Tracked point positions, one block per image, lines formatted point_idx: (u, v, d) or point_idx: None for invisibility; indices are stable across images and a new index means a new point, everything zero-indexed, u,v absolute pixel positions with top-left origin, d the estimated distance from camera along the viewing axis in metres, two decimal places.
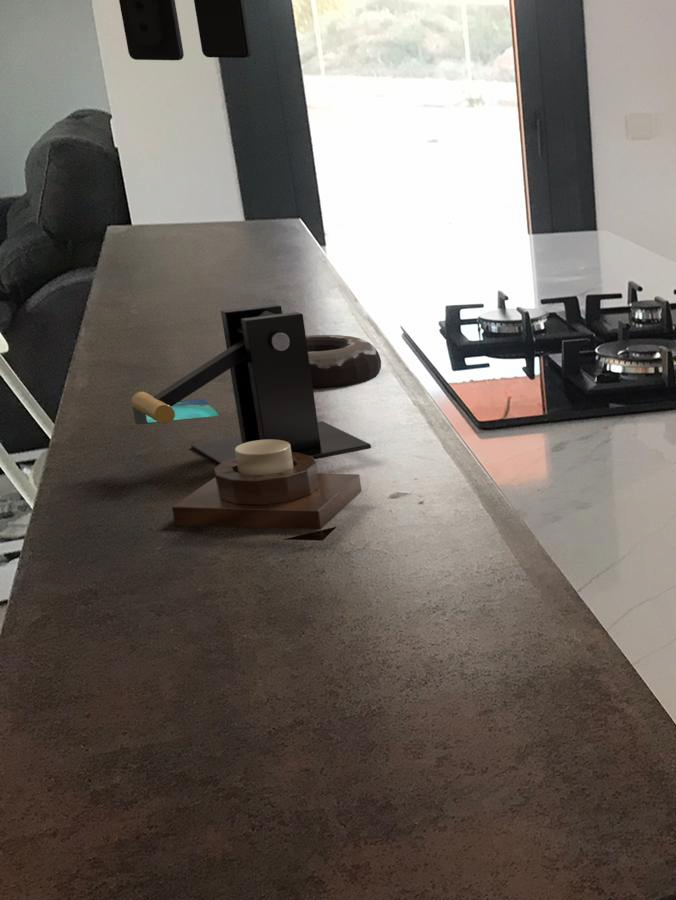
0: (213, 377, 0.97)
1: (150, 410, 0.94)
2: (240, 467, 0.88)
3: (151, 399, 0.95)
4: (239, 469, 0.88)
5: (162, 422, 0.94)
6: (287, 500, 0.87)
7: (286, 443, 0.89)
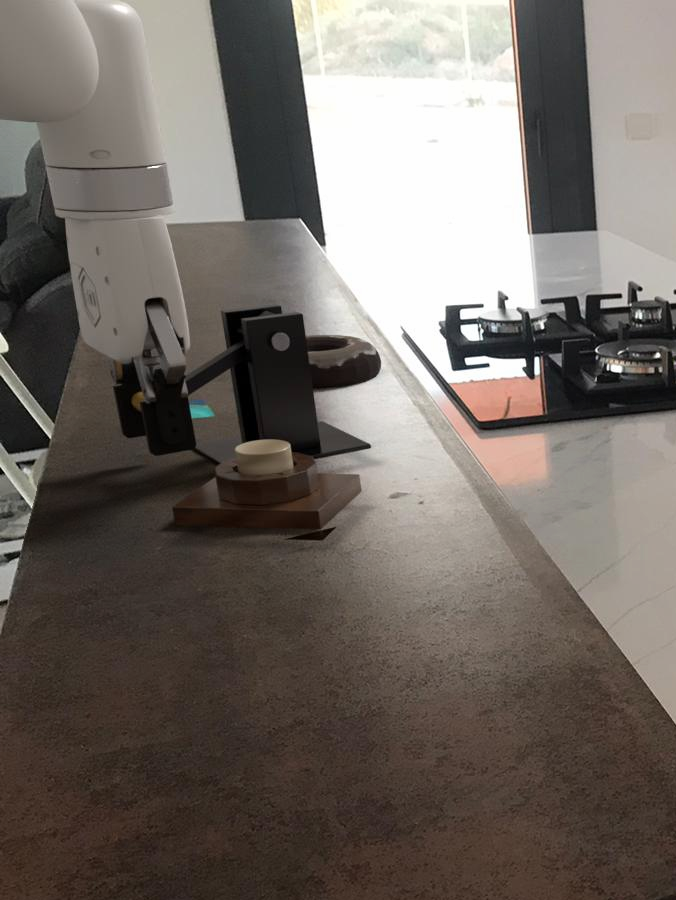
0: (213, 377, 0.97)
1: None
2: (240, 467, 0.88)
3: None
4: (239, 469, 0.88)
5: None
6: (287, 500, 0.87)
7: (286, 443, 0.89)
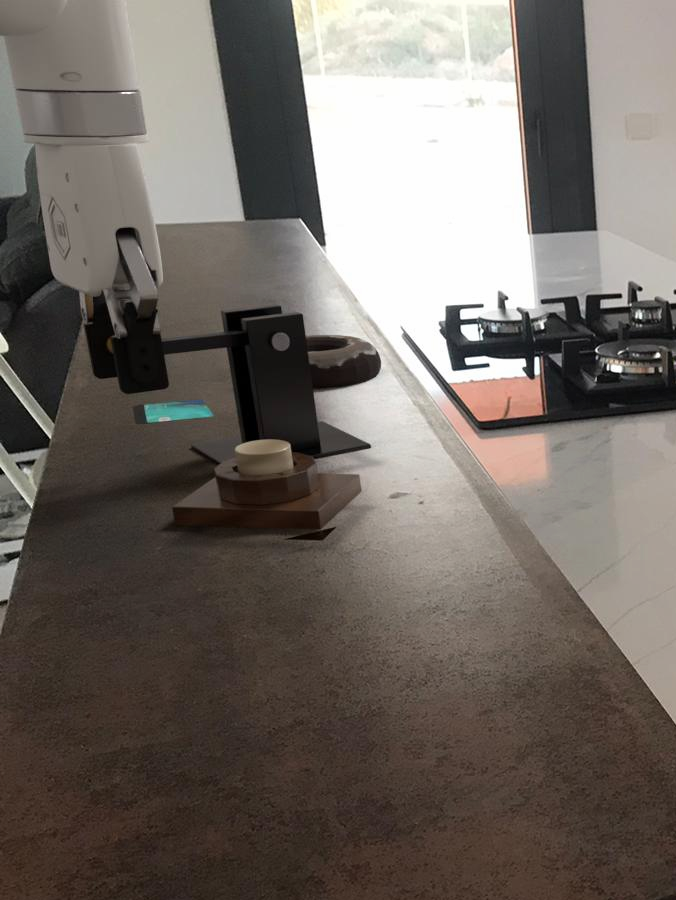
0: (199, 349, 0.96)
1: None
2: (240, 467, 0.88)
3: None
4: (239, 469, 0.88)
5: None
6: (287, 500, 0.87)
7: (286, 443, 0.89)
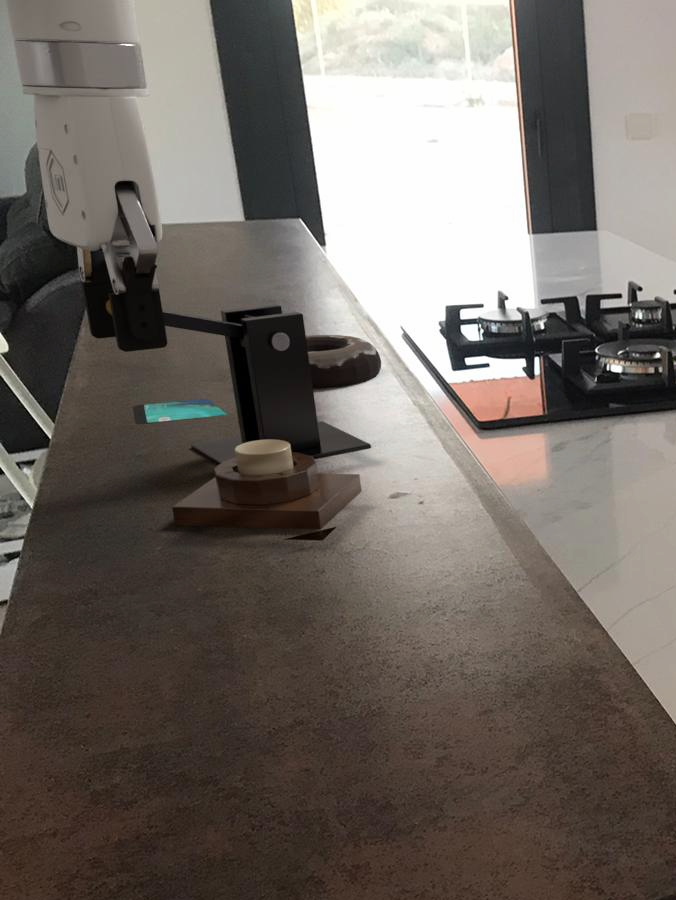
0: (198, 329, 0.96)
1: None
2: (240, 467, 0.88)
3: None
4: (239, 469, 0.88)
5: None
6: (287, 500, 0.87)
7: (286, 443, 0.89)
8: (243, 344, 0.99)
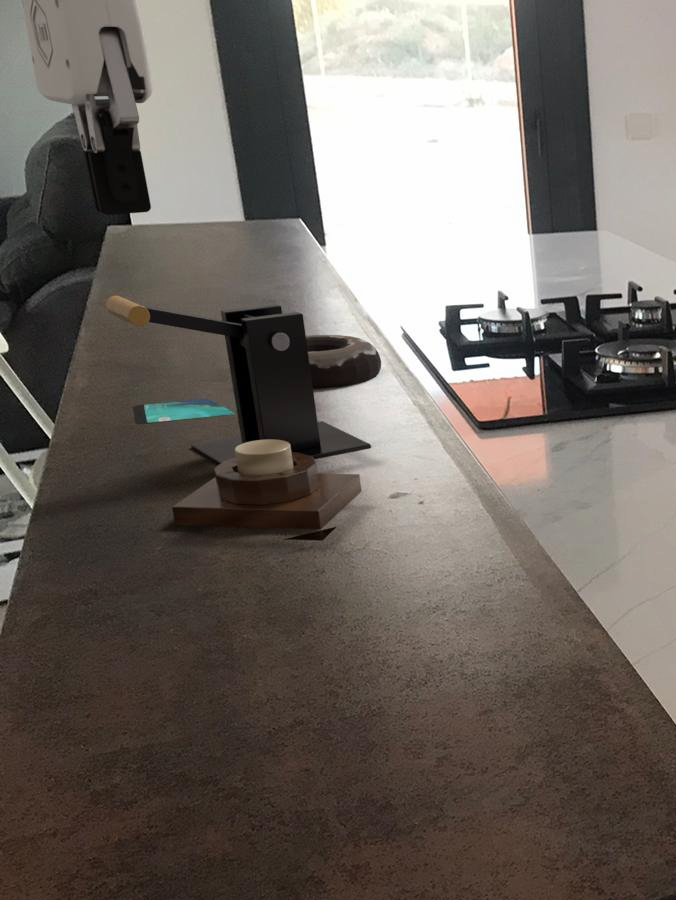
0: (198, 329, 0.96)
1: (128, 305, 0.91)
2: (240, 467, 0.88)
3: (133, 302, 0.92)
4: (239, 469, 0.88)
5: (131, 320, 0.90)
6: (287, 500, 0.87)
7: (286, 443, 0.89)
8: (243, 344, 0.99)
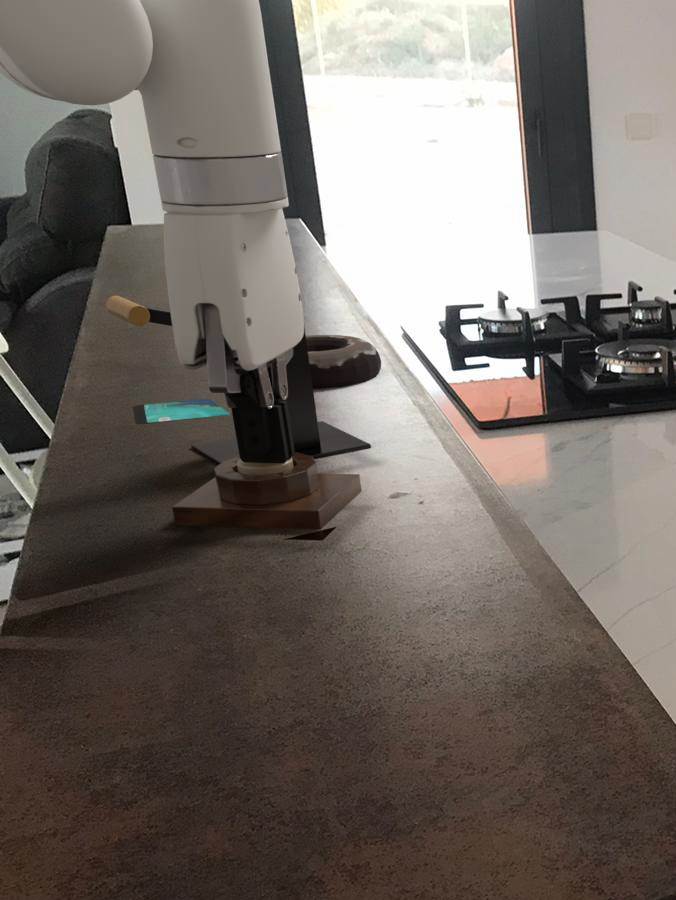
0: None
1: (128, 305, 0.91)
2: None
3: (133, 302, 0.92)
4: None
5: (131, 320, 0.90)
6: (287, 500, 0.87)
7: None
8: None
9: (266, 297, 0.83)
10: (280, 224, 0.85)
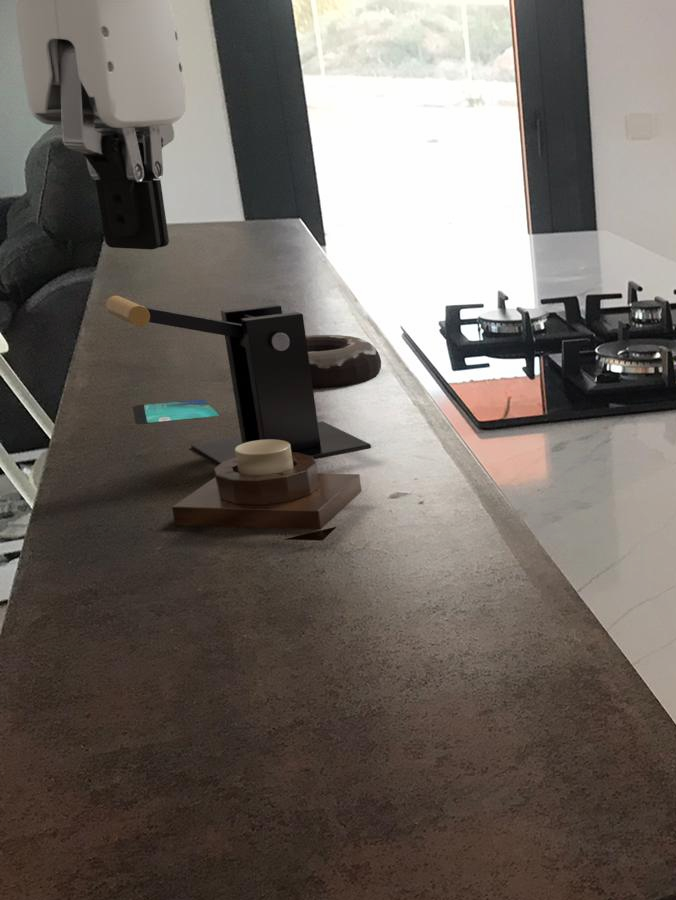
0: (198, 329, 0.96)
1: (128, 305, 0.91)
2: (240, 467, 0.88)
3: (133, 302, 0.92)
4: (239, 469, 0.88)
5: (131, 320, 0.90)
6: (287, 500, 0.87)
7: (286, 443, 0.89)
8: (243, 344, 0.99)
9: (134, 47, 0.74)
10: None
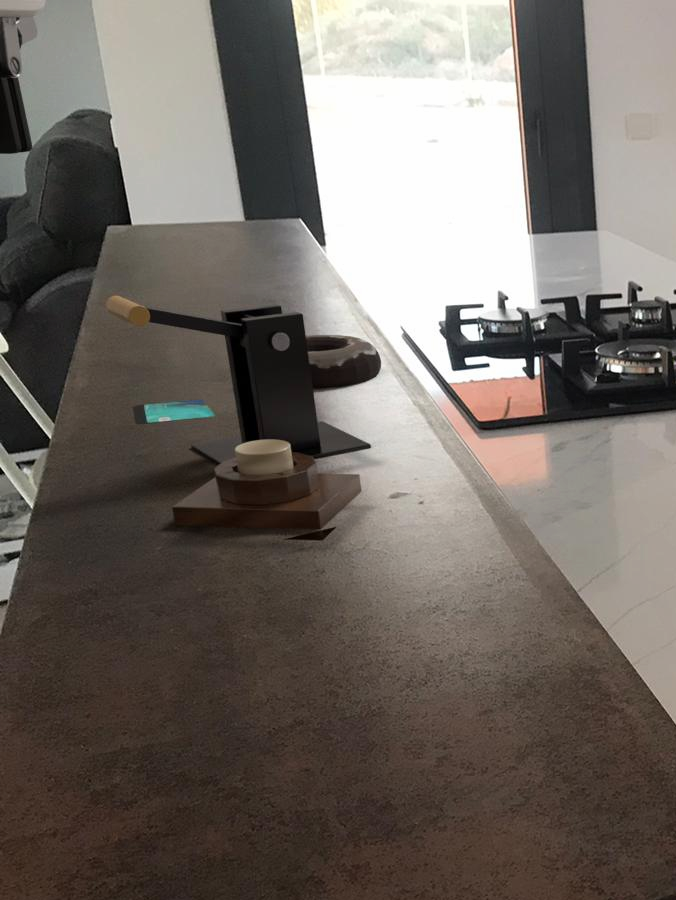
0: (198, 329, 0.96)
1: (128, 305, 0.91)
2: (240, 467, 0.88)
3: (133, 302, 0.92)
4: (239, 469, 0.88)
5: (131, 320, 0.90)
6: (287, 500, 0.87)
7: (286, 443, 0.89)
8: (243, 344, 0.99)
9: None
10: None
